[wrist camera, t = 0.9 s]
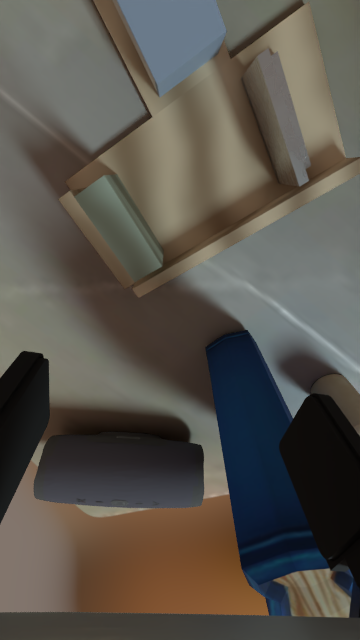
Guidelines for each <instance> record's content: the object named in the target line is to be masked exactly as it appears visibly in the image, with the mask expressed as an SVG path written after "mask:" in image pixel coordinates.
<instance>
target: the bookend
mask: <svg viewBox="0 0 360 640" xmlns="http://www.w3.org/2000/svg"><path fill="white" fill-rule="evenodd" d="M241 80H242V83H243V86H244V89H245V92H246V94H247V97H248V100H249V103H250V106H251V108H252V111H253V114H254V117H255V120H256V122H257V125H258V128H259V131H260V134H261V136H262V139H263V142H264V145H265V148H266V150H267V153H268V156H269V159H270V162H271V164H272V167H273V170H274V173H275V176H276V178H277V181H278V184H284V185H292V186H299V187H300V186H301V185H303V184H305V183H306V182H308V181H309V179H308V176H307V172H306V169H307V168H308V167H310V166H311V163H310V160H309V156H308V153H307V149H306V146H305V143H304V139H303V136H302V132H301V129H300V126H299V122H298V119H297V115H296V112H295V109H294V105H293V102H292V98H291V95H290V92H289V88H288V85H287V81H286V78H285V75H284V71H283V68H282V64H281V61H280V57H279V54H278V51H277V52H276V53H274V54H273V55H271V54H270V51H269V48H268V49H266V50H265V51H264V52H262V53H261V54H259V55H258V56H257V57H256V58H255V60H254V61H253V62H252V64H251V65H250V67H249V68H248V69H247V71H246V72H245V73H244V75H243V76H242V77H241Z"/></svg>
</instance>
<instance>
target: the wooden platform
mask: <svg viewBox="0 0 360 640" xmlns="http://www.w3.org/2000/svg"><path fill="white" fill-rule="evenodd" d="M93 1H94V3H95V5H96V7H97V9H98V11H99V13H100V15H101V17H102V19H103V21H104V23H105V25H106V27H107V29H108V31H109V33H110V34H111V36H112V38H113V40H114V42H115V44H116V46H117V48H118V50H119V52H120V54H121V56H122V58H123V60H124V62H125V64H126V66H127V68H128V70H129V72H130V74H131V76H132V78H133V80H134V82H135V84H136V86H137V88H138V90H139V91H140V93H141V95H142V97H143V99H144V101H145V103H146V105H147V107H148V109H149V111H150V113H151V115H152V118H150V119H149V120H148V121H146V122H145V123H144V124H142V125H141V126H140V127H138V128H137V129H136V130H134V131H133V132H131V133H130V134H129V135H127V136H126V137H125V138H123V139H122V140H121V141H119V142H118V143H117V144H115V145H114V146H113V147H111V148H110V149H108V150H107V151H106V152H104V153H103V154H102V155H100V156H99V157H98V158H96V159H95V160H94V161H92V162H91V163H89V164H88V165H87V166H85V167H84V168H83V169H81V170H80V171H79V172H77V173H76V174H75V175H73V176H72V177H71V178H69V179H68V180H66V181H65V183H66V184H67V186H68V187H69V189H70V190H71V191H69V192H67V193H66V194H65V195H63V196H62V197H60V198H59V199H58V200H59V201H60V203H61V204H62V205H63V207H64V208H65V209H66V211H67V212H68V213H69V215H70V216H71V217H72V219H73V220H74V221H75V223H76V224H77V226H78V227H79V228H80V230H81V231H82V232H83V234H84V235H85V236H86V238H87V239H88V240H89V242H90V243H91V244H92V246H93V247H94V248H95V250H96V251H97V253H98V254H99V255H100V257H101V258H102V259H103V261H104V262H105V263H106V265H107V266H108V267H109V269H110V270H111V271H112V273H113V274H114V276H115V277H116V278H117V280H118V281H119V282H120V284H121V285H122V286H123V288H124V289H126V288H128V287H130V286H131V285H133V284H134V285H133V288H132V290H133V291H134V293H135V294H136V295H137V297H138V298H140V297H141V296H143V295H145V294H147V293H149V292H150V291H152V290H154V289H156V288H157V287H159V286H161V285H163V284H165V283H166V282H168V281H170V280H172V279H173V278H175V277H177V276H179V275H181V274H182V273H184V272H186V271H188V270H189V269H191V268H193V267H195V266H197V265H198V264H200V263H202V262H204V261H205V260H207V259H209V258H211V257H213V256H214V255H216V254H218V253H220V252H221V251H223V250H225V249H227V248H229V247H230V246H232V245H234V244H236V243H237V242H239V241H241V240H243V239H244V238H246V237H248V236H250V235H252V234H253V233H255V232H257V231H259V230H260V229H262V228H264V227H266V226H268V225H269V224H271V223H273V222H275V221H276V220H278V219H280V218H282V217H284V216H285V215H287V214H289V213H291V212H292V211H294V210H296V209H298V208H300V207H301V206H303V205H305V204H307V203H308V202H310V201H312V200H314V199H316V198H317V197H319V196H321V195H323V194H324V193H326V192H328V191H330V190H332V189H333V188H335V187H337V186H339V185H340V184H342V183H344V182H346V181H348V180H349V179H351V178H353V177H355V176H356V175H358V174H360V157H357V158H346V156H345V152H344V148H343V143H342V139H341V135H340V131H339V126H338V122H337V118H336V114H335V109H334V105H333V101H332V97H331V92H330V88H329V84H328V80H327V75H326V71H325V67H324V63H323V58H322V54H321V50H320V46H319V41H318V37H317V33H316V29H315V24H314V20H313V16H312V12H311V7H310V3H309V2H308V3H306V4H305V5H304V6H302V7H301V8H299V9H298V10H297V11H295V12H294V13H293V14H291V15H290V16H289V17H287V18H286V19H285V20H283V21H282V22H280V23H279V24H278V25H276V26H275V27H274V28H272V29H271V30H270V31H268V32H267V33H266V34H264V35H263V36H262V37H260V38H259V39H257V40H256V41H255V42H253V43H252V44H251V45H249V46H248V47H247V48H245V49H244V50H243V51H241V52H240V53H239V54H237V55H236V56H234V57H233V58H232V59H230V56H229V53H228V50H227V48H226V45H225V42H224V40H223V42H222V45H221V47H220V50H219V53H218V54H217V55H216V56H215V57H213V58H212V59H211V60H209V61H208V62H207V63H205V64H204V65H203V66H201V67H200V68H199V69H197V70H196V71H195V72H193V73H192V74H191V75H189V76H188V77H187V78H185V79H184V80H183V81H181V82H180V83H179V84H177V85H176V86H175V87H173V88H172V89H171V90H169V91H168V92H167V93H165V94H164V95H163V96H161V97H159V95H158V93H157V92H156V89H155V87H154V85H153V83H152V81H151V79H150V77H149V75H148V73H147V71H146V69H145V67H144V65H143V63H142V61H141V58H140V56H139V54H138V52H137V50H136V48H135V46H134V44H133V42H132V40H131V38H130V36H129V34H128V32H127V30H126V28H125V25H124V23H123V21H122V19H121V17H120V15H119V13H118V11H117V9H116V7H115V5H114V3H113V1H112V0H93ZM268 48H269V51H270V54H271V55H273V54H274V53H276V52H277V51H278V54H279V57H280V61H281V64H282V68H283V71H284V75H285V78H286V81H287V85H288V88H289V92H290V95H291V98H292V102H293V105H294V109H295V112H296V115H297V119H298V122H299V126H300V129H301V132H302V136H303V139H304V143H305V146H306V149H307V153H308V156H309V160H310V163H311V166H310V167H308V168H307V169H306V172H307V176H308V179H309V181H308V182H306V183H305V184H303V185H301V186H300V187H299V186H292V185H284V184H278V181H277V178H276V176H275V173H274V170H273V167H272V164H271V162H270V159H269V156H268V153H267V150H266V148H265V145H264V142H263V139H262V136H261V134H260V131H259V128H258V125H257V122H256V120H255V117H254V114H253V111H252V108H251V106H250V103H249V100H248V97H247V94H246V92H245V89H244V86H243V83H242V80H241V77H242V76H243V75H244V73H245V72H246V71H247V69H248V68H249V67H250V65H251V64H252V62H253V61H254V60H255V58H256V57H257V56H258V55H259V54H261V53H262V52H264V51H265V50H266V49H268Z"/></svg>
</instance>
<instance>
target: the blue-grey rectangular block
mask: <svg viewBox="0 0 360 640" xmlns="http://www.w3.org/2000/svg"><path fill="white" fill-rule="evenodd" d="M112 1H113V3H114V5H115V7H116V9H117V11H118V13H119V15H120V17H121V19H122V21H123V23H124V25H125V28H126V30H127V32H128V34H129V36H130V38H131V40H132V42H133V44H134V46H135V48H136V50H137V52H138V54H139V56H140V58H141V61H142V63H143V65H144V67H145V69H146V71H147V73H148V75H149V77H150V79H151V81H152V83H153V85H154V87H155V89H156V92H157V93H158V95H159V97H161V96H163V95H164V94H165V93H167V92H168V91H169V90H171V89H172V88H173V87H175V86H176V85H177V84H179V83H180V82H181V81H183V80H184V79H185V78H187V77H188V76H189V75H191V74H192V73H193V72H195V71H196V70H197V69H199V68H200V67H201V66H203V65H204V64H205V63H207V62H208V61H209V60H211V59H212V58H213V57H215V56H216V55H217V54H218V53H219V50H220V47H221V45H222V42H223V40H224V37H225V34H226V32H227V31H226V28H225V26H224V23H223V20H222V17H221V14H220V11H219V9H218V6H217V3H216V0H112Z"/></svg>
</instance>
